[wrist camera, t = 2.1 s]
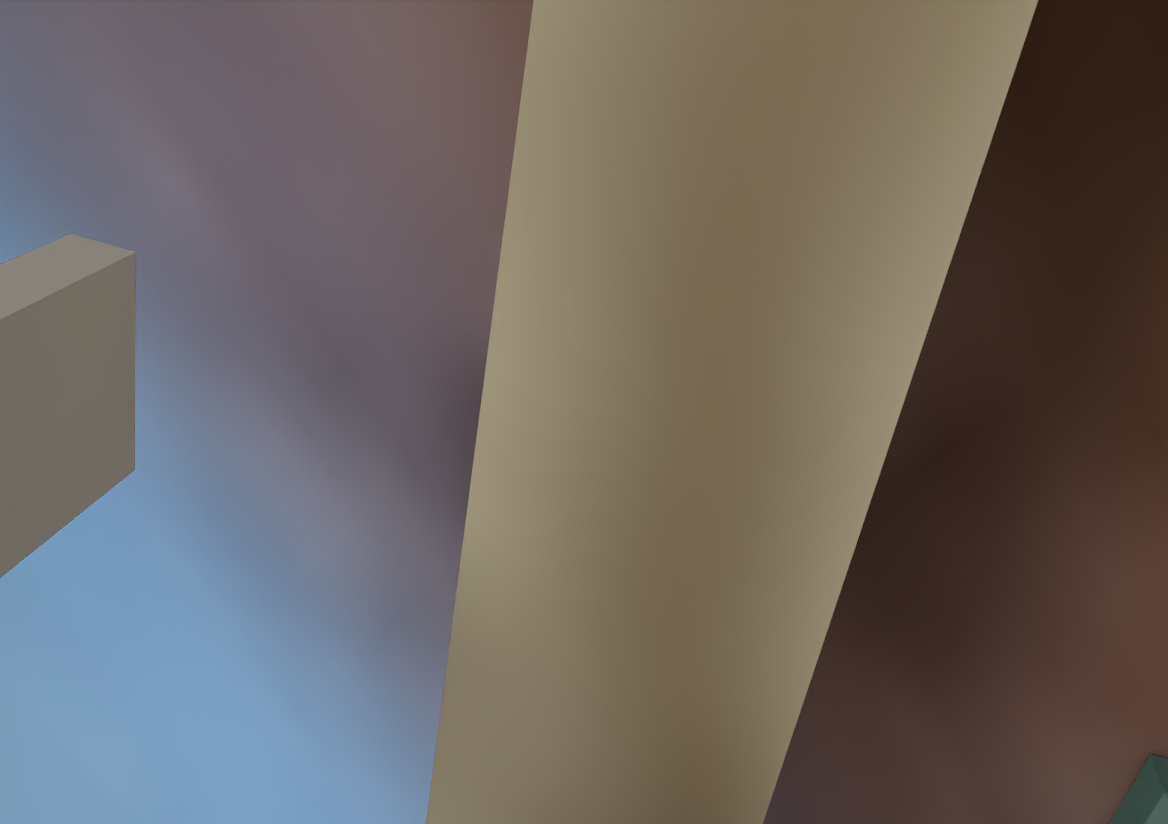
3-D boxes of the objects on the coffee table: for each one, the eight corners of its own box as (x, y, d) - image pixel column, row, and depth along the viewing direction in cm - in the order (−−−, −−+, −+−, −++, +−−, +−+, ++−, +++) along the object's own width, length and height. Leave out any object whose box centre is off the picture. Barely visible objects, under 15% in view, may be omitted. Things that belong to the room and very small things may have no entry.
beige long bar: (504, 713, 20) (408, 956, 15) (682, -355, 12) (596, -488, 8) (723, 773, 19) (689, 1040, 15) (1045, -298, 12) (1173, -405, 7)
